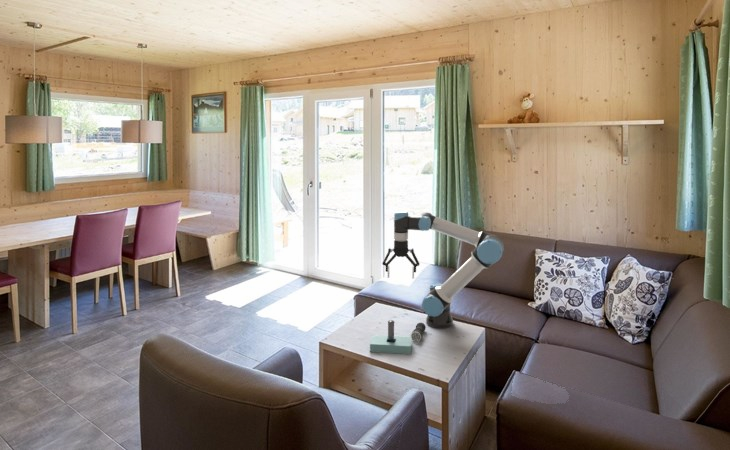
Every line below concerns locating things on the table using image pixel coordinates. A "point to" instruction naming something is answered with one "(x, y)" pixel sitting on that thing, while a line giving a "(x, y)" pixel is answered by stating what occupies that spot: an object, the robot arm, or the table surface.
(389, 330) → the peg
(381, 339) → the hole block
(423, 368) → the table surface
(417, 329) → the flashlight
